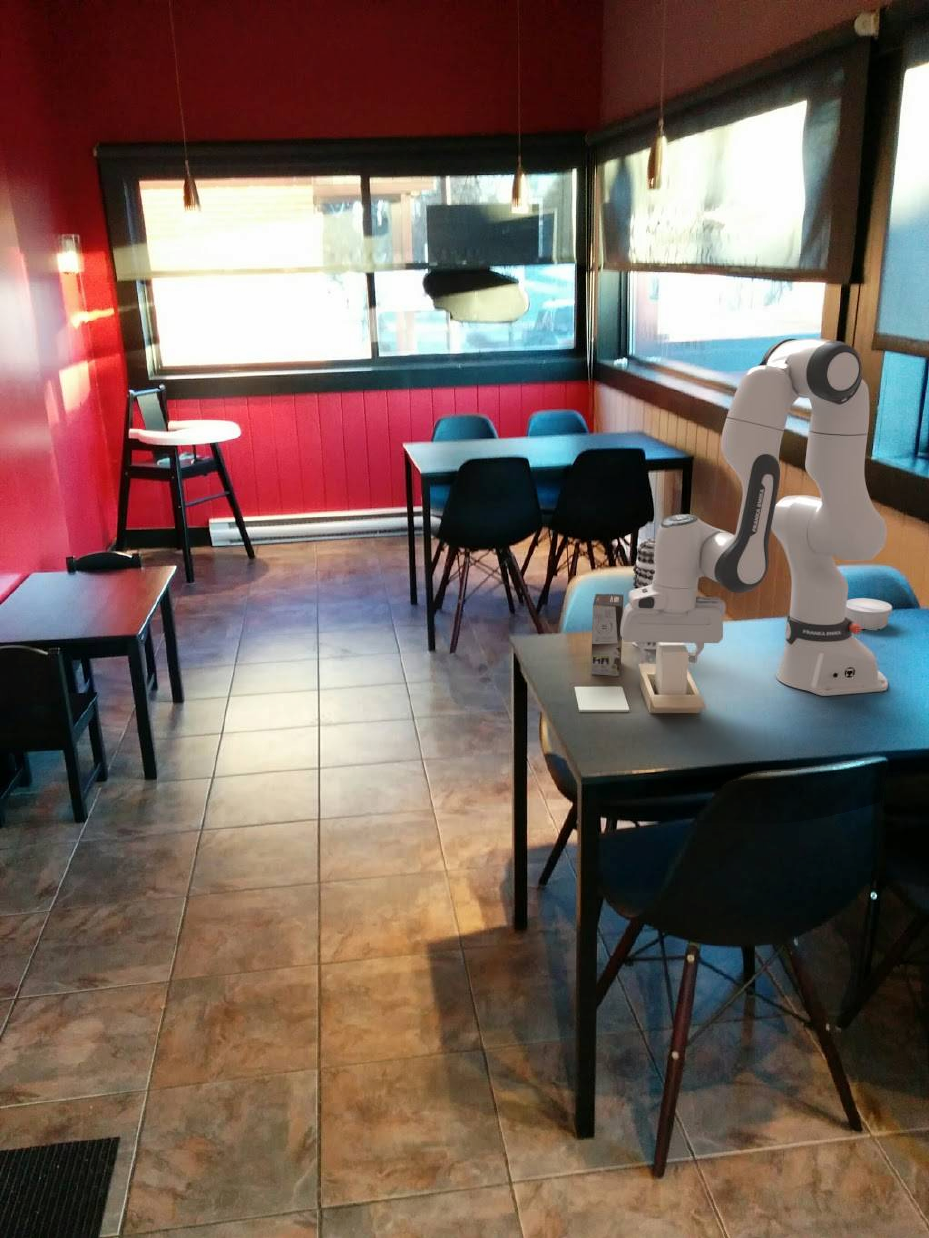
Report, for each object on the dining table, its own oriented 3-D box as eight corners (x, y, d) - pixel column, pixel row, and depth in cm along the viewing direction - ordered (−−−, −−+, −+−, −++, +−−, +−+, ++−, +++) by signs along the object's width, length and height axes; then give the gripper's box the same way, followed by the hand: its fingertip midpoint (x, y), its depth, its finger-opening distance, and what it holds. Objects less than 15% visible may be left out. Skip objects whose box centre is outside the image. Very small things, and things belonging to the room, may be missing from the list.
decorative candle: (623, 645, 236) (627, 542, 228) (640, 634, 243) (644, 534, 235) (659, 652, 231) (664, 548, 223) (675, 641, 239) (681, 539, 231)
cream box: (678, 692, 209) (681, 638, 205) (685, 708, 201) (688, 652, 198) (654, 692, 209) (656, 638, 205) (660, 708, 202) (663, 652, 198)
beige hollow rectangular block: (683, 678, 216) (684, 663, 215) (705, 723, 194) (706, 706, 193) (637, 678, 216) (637, 663, 215) (653, 723, 194) (654, 706, 193)
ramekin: (846, 631, 244) (848, 610, 242) (837, 616, 254) (840, 597, 253) (894, 633, 242) (897, 612, 240) (884, 618, 253) (886, 598, 251)
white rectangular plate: (621, 688, 211) (621, 686, 211) (629, 711, 200) (629, 709, 200) (574, 688, 211) (574, 686, 211) (579, 712, 200) (579, 709, 200)
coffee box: (619, 676, 218) (622, 606, 213) (590, 674, 219) (592, 604, 214) (621, 661, 226) (624, 593, 221) (593, 660, 227) (595, 592, 222)
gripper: (723, 592, 201) (717, 657, 205) (621, 591, 201) (617, 655, 206) (730, 601, 195) (724, 668, 199) (625, 600, 195) (621, 666, 200)
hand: (669, 661), depth 202 cm, fingers open, 8 cm apart
